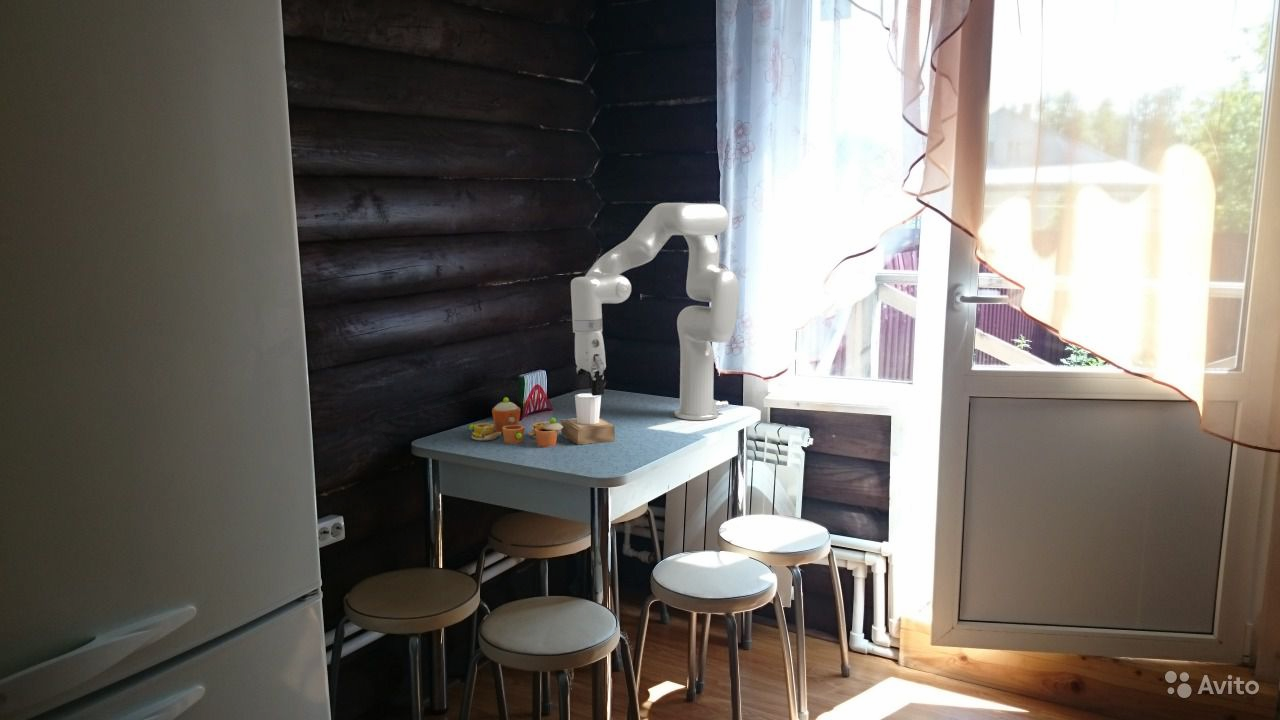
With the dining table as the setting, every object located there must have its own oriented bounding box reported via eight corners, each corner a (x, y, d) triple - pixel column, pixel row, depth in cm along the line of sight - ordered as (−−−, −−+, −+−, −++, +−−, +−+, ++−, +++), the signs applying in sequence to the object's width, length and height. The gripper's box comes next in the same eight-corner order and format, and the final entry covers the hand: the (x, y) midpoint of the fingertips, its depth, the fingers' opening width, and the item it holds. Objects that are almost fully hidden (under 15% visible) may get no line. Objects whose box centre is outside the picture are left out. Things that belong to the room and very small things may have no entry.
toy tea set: (462, 440, 235) (461, 403, 234) (495, 428, 249) (495, 393, 248) (551, 451, 225) (550, 413, 223) (580, 437, 239) (580, 401, 237)
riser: (596, 431, 245) (596, 415, 244) (614, 440, 234) (614, 424, 233) (561, 434, 240) (561, 418, 240) (578, 445, 230) (577, 428, 229)
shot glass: (603, 419, 239) (603, 393, 238) (598, 425, 233) (598, 398, 232) (578, 418, 240) (577, 392, 239) (572, 424, 234) (571, 397, 233)
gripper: (614, 328, 227) (617, 395, 230) (588, 320, 242) (591, 383, 245) (586, 331, 224) (589, 399, 227) (561, 322, 239) (565, 387, 242)
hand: (590, 391), depth 236 cm, fingers open, 9 cm apart
